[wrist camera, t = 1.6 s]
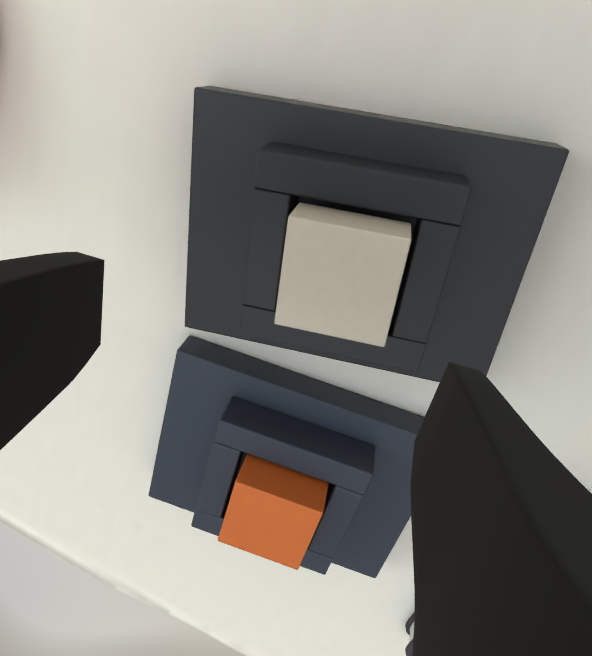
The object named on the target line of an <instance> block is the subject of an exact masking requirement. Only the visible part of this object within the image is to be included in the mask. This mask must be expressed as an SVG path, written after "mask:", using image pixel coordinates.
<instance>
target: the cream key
mask: <svg viewBox="0 0 592 656" xmlns="http://www.w3.org/2000/svg"><path fill="white" fill-rule="evenodd" d="M410 244H411V223H407V222H402V221H397V220H391V219H386V218H381V217H375V216H370V215H365V214H359V213H354V212H349V211H343V210H338V209H333V208H327V207H322V206H317V205H311V204H306V203H301V202H300V203H299V204H298V205H297V206H296V208H295V209H294V210H293V211H292V213H291V214H290V215H289V217H288V223H287V231H286V238H285V246H284V253H283V261H282V268H281V276H280V283H279V291H278V299H277V306H276V314H275V321H274V323H275V324H277V325H282V326H287V327H291V328H296V329H301V330H305V331H310V332H315V333H320V334H324V335H329V336H334V337H338V338H343V339H348V340H352V341H357V342H362V343H366V344H371V345H376V346H380V347H384V346H385V343H386V339H387V335H388V331H389V327H390V323H391V319H392V315H393V311H394V307H395V303H396V299H397V295H398V291H399V287H400V283H401V279H402V275H403V271H404V267H405V263H406V259H407V256H408V252H409V248H410Z"/></svg>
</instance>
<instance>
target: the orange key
mask: <svg viewBox="0 0 592 656" xmlns="http://www.w3.org/2000/svg"><path fill="white" fill-rule="evenodd" d="M328 484H329V482H326V481H324V480H321V479H318V478H315V477H312V476H310V475H307V474H304V473H301V472H298V471H296V470H293V469H290V468H287V467H284V466H282V465H279V464H276V463H273V462H270V461H268V460H265V459H262V458H259V457H256V456H254V455H251V454H247V455H246V457H245V460H244V462H243V465H242V467H241V469H240V472H239V474H238V477H237V479H236V481H235V485H234V488H233V491H232V494H231V498H230V501H229V504H228V507H227V511H226V514H225V517H224V520H223V524H222V527H221V530H220V533H219V537H218V541H220V542H222V543H225V544H228V545H231V546H233V547H236V548H239V549H242V550H244V551H247V552H250V553H253V554H255V555H258V556H261V557H263V558H266V559H269V560H272V561H274V562H277V563H280V564H283V565H285V566H288V567H291V568H294V569H296V570H298V569H299V566H300V564H301V562H302V560H303V557H304V555H305V553H306V551H307V548H308V546H309V544H310V541H311V539H312V537H313V535H314V532H315V530H316V528H317V526H318V523H319V521H320V519H321V517H322V514H323V511H324V505H325V500H326V495H327V490H328Z"/></svg>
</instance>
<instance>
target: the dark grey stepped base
mask: <svg viewBox="0 0 592 656" xmlns="http://www.w3.org/2000/svg"><path fill="white" fill-rule="evenodd" d="M568 153H569V150H568V149H566V148H564V147H562V146H560V145H558V144H555V143H549V142H543V141H537V140H531V139H525V138H519V137H513V136H507V135H501V134H495V133H489V132H483V131H477V130H471V129H465V128H459V127H453V126H447V125H441V124H435V123H429V122H423V121H417V120H411V119H405V118H399V117H393V116H387V115H381V114H375V113H369V112H363V111H357V110H351V109H345V108H339V107H333V106H327V105H321V104H315V103H309V102H303V101H297V100H291V99H285V98H279V97H273V96H267V95H261V94H255V93H249V92H243V91H237V90H231V89H225V88H219V87H213V86H204V87H196V88H195V89H194V113H193V137H192V161H191V186H190V210H189V235H188V259H187V283H186V308H185V327H189V328H194V329H198V330H203V331H208V332H212V333H217V334H221V335H226V336H230V337H235V338H240V339H244V340H249V341H253V342H258V343H263V344H267V345H272V346H276V347H281V348H285V349H290V350H295V351H299V352H304V353H308V354H313V355H318V356H322V357H327V358H331V359H336V360H340V361H345V362H350V363H354V364H359V365H363V366H368V367H373V368H377V369H382V370H386V371H391V372H396V373H400V374H405V375H409V376H414V377H418V378H423V379H428V380H432V381H437V382H440V381H441V379H442V377H443V374H444V372H445V370H446V368H447V365H448V363H449V362H452V363H456V364H459V365H462V366H466V367H469V368H473V369H476V370H479V371H481V372H482V373H483V374H484V375H485V376H487V373H488V370H489V367H490V365H491V362H492V359H493V357H494V354H495V351H496V348H497V346H498V343H499V340H500V338H501V335H502V332H503V329H504V327H505V324H506V321H507V319H508V316H509V313H510V310H511V308H512V305H513V302H514V300H515V297H516V294H517V291H518V289H519V286H520V283H521V281H522V278H523V275H524V272H525V270H526V267H527V264H528V262H529V259H530V256H531V254H532V251H533V248H534V245H535V243H536V240H537V237H538V235H539V232H540V229H541V226H542V224H543V221H544V218H545V216H546V213H547V210H548V207H549V205H550V202H551V199H552V197H553V194H554V191H555V188H556V186H557V183H558V180H559V178H560V175H561V172H562V169H563V167H564V164H565V161H566V159H567V156H568ZM300 202H301V203H306V204H311V205H317V206H322V207H327V208H333V209H338V210H343V211H349V212H354V213H359V214H365V215H370V216H375V217H381V218H386V219H391V220H397V221H402V222H407V223H411V244H410V248H409V252H408V256H407V259H406V263H405V267H404V271H403V275H402V279H401V283H400V287H399V291H398V295H397V299H396V303H395V307H394V311H393V315H392V319H391V323H390V327H389V331H388V335H387V339H386V343H385V346H384V347H380V346H376V345H371V344H366V343H362V342H357V341H352V340H348V339H343V338H338V337H334V336H329V335H324V334H320V333H315V332H310V331H305V330H301V329H296V328H291V327H287V326H282V325H277V324H275V323H274V321H275V314H276V306H277V299H278V291H279V283H280V276H281V268H282V261H283V253H284V246H285V238H286V231H287V223H288V217H289V215H290V214H291V213H292V211H293V210H294V209H295V208H296V206H297V205H298V204H299V203H300Z"/></svg>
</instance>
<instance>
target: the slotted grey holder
mask: <svg viewBox="0 0 592 656" xmlns="http://www.w3.org/2000/svg"><path fill="white" fill-rule="evenodd" d="M423 420H424V417H421V416H418V415H415V414H412V413H409V412H407V411H404V410H401V409H398V408H395V407H392V406H389V405H387V404H384V403H381V402H378V401H375V400H372V399H369V398H367V397H364V396H361V395H358V394H355V393H352V392H349V391H346V390H344V389H341V388H338V387H335V386H332V385H329V384H326V383H324V382H321V381H318V380H315V379H312V378H309V377H306V376H304V375H301V374H298V373H295V372H292V371H289V370H286V369H284V368H281V367H278V366H275V365H272V364H269V363H266V362H264V361H261V360H258V359H255V358H252V357H249V356H246V355H244V354H241V353H238V352H235V351H232V350H229V349H226V348H224V347H221V346H218V345H215V344H212V343H209V342H206V341H204V340H201V339H198V338H195V337H192V336H189V337H188V338H187V339H186V340H185V342H184V343H183V344H182V345H181V346H180V348H179V349H178V350H177V354H176V359H175V364H174V369H173V374H172V379H171V385H170V390H169V395H168V400H167V405H166V410H165V415H164V420H163V425H162V430H161V435H160V440H159V445H158V450H157V455H156V460H155V466H154V471H153V476H152V481H151V486H150V491H149V496H150V497H153V498H156V499H158V500H161V501H164V502H167V503H169V504H172V505H175V506H178V507H180V508H183V509H186V510H189V511H191V512H194V517H193V520H192V524H191V526H192V527H195V528H198V529H200V530H203V531H206V532H209V533H211V534H214V535H217V536H219V533H220V530H221V527H222V524H223V520H224V517H225V514H226V511H227V507H228V504H229V501H230V498H231V494H232V491H233V488H234V485H235V481H236V479H237V477H238V474H239V472H240V469H241V467H242V465H243V462H244V460H245V457H246V455H247V454H251V455H254V456H256V457H259V458H262V459H265V460H268V461H270V462H273V463H276V464H279V465H282V466H284V467H287V468H290V469H293V470H296V471H298V472H301V473H304V474H307V475H310V476H312V477H315V478H318V479H321V480H324V481H326V482H329V484H328V490H327V495H326V500H325V505H324V511H323V514H322V517H321V519H320V521H319V523H318V526H317V528H316V530H315V532H314V535H313V537H312V539H311V541H310V544H309V546H308V548H307V551H306V553H305V555H304V557H303V560H302V562H301V564H300V566H302V567H305V568H307V569H310V570H313V571H316V572H318V573H321V574H326V572H327V570H328V568H329V566H330V564H331V562H332V563H334V564H337V565H340V566H343V567H345V568H348V569H351V570H354V571H356V572H359V573H362V574H365V575H367V576H370V577H373V578H376V576H377V575H378V573H379V571H380V569H381V567H382V566H383V564H384V562H385V560H386V559H387V557H388V555H389V553H390V552H391V550H392V548H393V546H394V544H395V543H396V541H397V539H398V537H399V536H400V534H401V532H402V530H403V529H404V527H405V525H406V523H407V521H408V520H409V518H410V516H411V491H410V482H411V470H412V460H413V451H414V442H415V439H416V436H417V434H418V432H419V429H420V427H421V425H422V423H423Z"/></svg>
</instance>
